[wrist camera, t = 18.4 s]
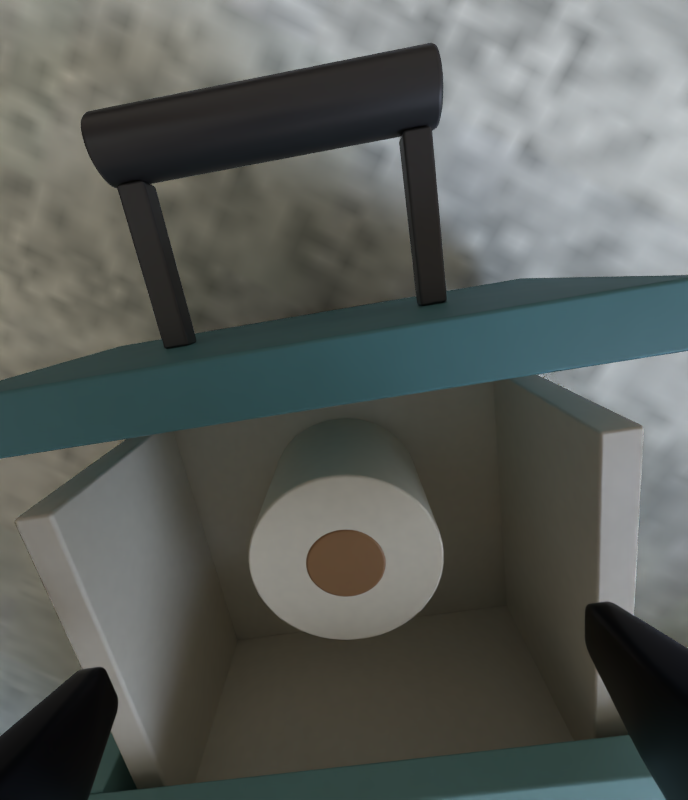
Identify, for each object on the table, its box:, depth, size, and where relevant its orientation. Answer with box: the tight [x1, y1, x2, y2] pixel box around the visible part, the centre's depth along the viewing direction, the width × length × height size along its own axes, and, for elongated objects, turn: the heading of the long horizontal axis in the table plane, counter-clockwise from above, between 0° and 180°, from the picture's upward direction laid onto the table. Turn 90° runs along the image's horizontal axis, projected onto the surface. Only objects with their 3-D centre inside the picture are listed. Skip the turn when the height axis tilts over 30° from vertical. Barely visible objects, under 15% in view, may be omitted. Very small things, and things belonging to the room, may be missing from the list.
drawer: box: [0, 43, 688, 789], centre depth 11 cm, size 17×13×7 cm
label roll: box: [248, 418, 444, 640], centre depth 12 cm, size 5×5×4 cm
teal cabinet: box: [88, 732, 666, 800], centre depth 14 cm, size 14×15×9 cm
